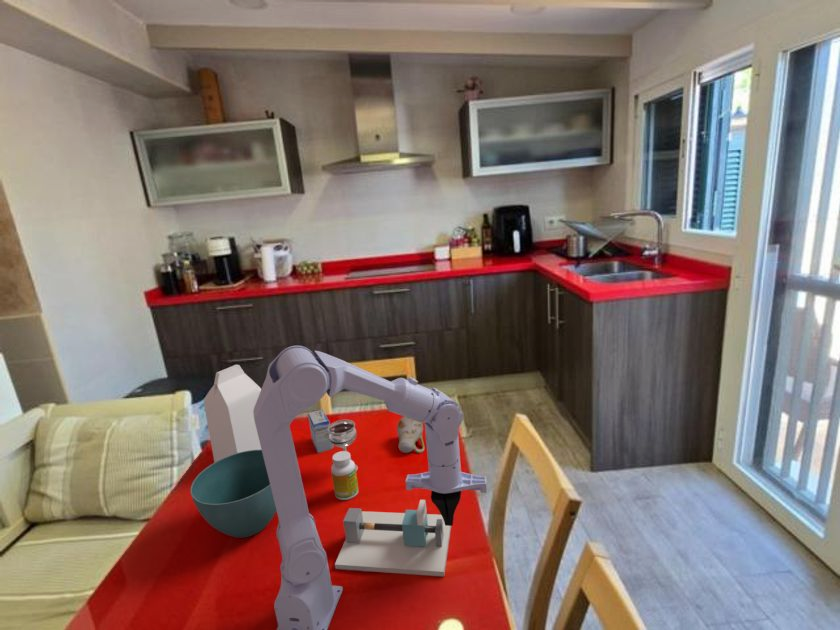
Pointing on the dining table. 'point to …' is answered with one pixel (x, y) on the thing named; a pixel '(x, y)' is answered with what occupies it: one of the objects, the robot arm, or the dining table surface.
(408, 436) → the mug
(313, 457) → the dining table surface
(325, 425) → the medicine box
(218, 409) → the milk
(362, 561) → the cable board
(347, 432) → the wineglass
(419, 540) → the slider block
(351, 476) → the supplement bottle
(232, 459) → the teal bowl
